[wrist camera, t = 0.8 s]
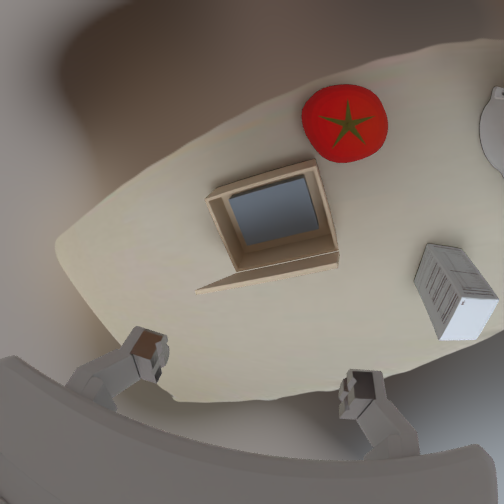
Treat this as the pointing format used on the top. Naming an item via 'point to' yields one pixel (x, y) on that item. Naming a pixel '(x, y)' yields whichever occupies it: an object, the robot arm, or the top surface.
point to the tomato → (345, 122)
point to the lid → (274, 273)
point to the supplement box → (454, 293)
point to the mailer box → (274, 216)
